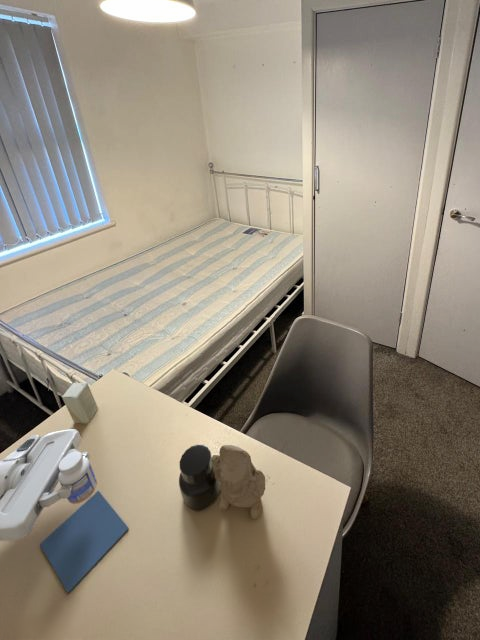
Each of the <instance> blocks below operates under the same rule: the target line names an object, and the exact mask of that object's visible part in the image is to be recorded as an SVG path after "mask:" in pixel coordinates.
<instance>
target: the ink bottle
mask: <svg viewBox="0 0 480 640" xmlns="http://www.w3.org/2000/svg"><path fill="white" fill-rule="evenodd" d="M179 470H180V473H179V477H178V487H179V490H180V493H181V497H182V501H183V504H184V506H185V507H186V508H187V509H188V510H189V511H192V512H201V511H204V510H206V509H208V508H210V507H211V506H212V505H213V504H214V503H215V502H216V501H217V499H218V497H219V496H220V495H221V489H220V483H221V482H219V481H217V480H216V479H215V473H214V472H213V462H212V453H211V450H210V448H209V446H206V445H205V444H200V443H199V444H198V443H197V444H195V445H191V446H190V447H189V448H187V449H186V450H185V451H184V452H183V453H182V455H181V457H180V460H179Z"/></svg>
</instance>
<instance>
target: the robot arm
mask: <svg viewBox="0 0 480 640" xmlns="http://www.w3.org/2000/svg"><path fill="white" fill-rule="evenodd" d="M81 444H82V437H81V435H80V432H79V431H78V430H77V429H75V428H68V429H62V430H57V431H56V430H55V431H51V432H48V433H46V434H45V435H43V436H42V437H41V436H40V434H34V435H31V436H29V437H28V438H27V439H26V440H24V441H23V442H22V444H20V445H19V446H18V447H17V448H16V449H15V450H13V451H12V452H11V453H10V454H8V455H7V456H5V457H4V458H3V459H0V541H1V542H2V541H3V542H4V541H5V542H7V541H8V542H9V541H10V542H12V541H19V540H22V539H23V538H25V537H27V536H28V535H29V534H30V533H31V531H32V530H33V528H34V526H35V525H36V522H37V521H38V519H39V517H40V515H41V514H42V511H43V510H44V508H48V507H50V506H52V505H54V504H56V503H57V502H59V501H60V500H61V499H68V497H69V496H70V495H71V492H72V491H73V488H72V485H71V484H68V485H61V487H60V488H59V489H57V490H55V489H56V487H57V485H58V484H59V483H60V481H59V473H60V470H59V463H60V461H61V460H62V459H63V458H64V457H65V456H66V455H68V454H70V453H72V452H76V451H77V452H80V451H79V450H78V448H79V447H80V445H81ZM80 453H81V454H82V456H83V457H86V458H87V459H88V460H89V459H90V458H91V455H90V452H88V451H84V452H80ZM89 461H90V460H89Z"/></svg>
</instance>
